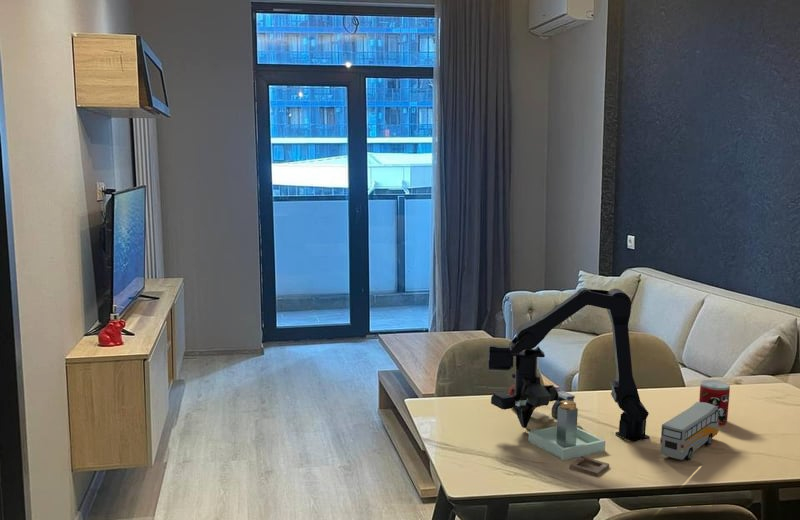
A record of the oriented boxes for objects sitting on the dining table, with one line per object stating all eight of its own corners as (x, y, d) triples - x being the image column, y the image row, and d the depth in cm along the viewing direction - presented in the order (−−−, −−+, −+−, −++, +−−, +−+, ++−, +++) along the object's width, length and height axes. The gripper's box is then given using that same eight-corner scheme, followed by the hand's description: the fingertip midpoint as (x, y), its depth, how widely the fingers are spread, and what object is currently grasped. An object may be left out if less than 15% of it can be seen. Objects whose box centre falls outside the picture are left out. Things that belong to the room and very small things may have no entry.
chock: (548, 423, 204) (549, 408, 203) (560, 429, 199) (561, 414, 199) (524, 428, 200) (524, 413, 199) (535, 434, 195) (536, 419, 195)
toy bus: (720, 439, 193) (723, 403, 191) (683, 467, 174) (685, 427, 173) (695, 432, 197) (697, 397, 196) (656, 459, 179) (658, 421, 177)
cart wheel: (567, 418, 207) (568, 389, 206) (579, 424, 202) (580, 394, 201) (547, 422, 204) (549, 393, 203) (559, 428, 199) (560, 398, 198)
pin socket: (581, 460, 177) (581, 456, 177) (609, 468, 173) (609, 463, 173) (569, 470, 172) (569, 465, 172) (597, 478, 168) (597, 473, 167)
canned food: (698, 423, 204) (700, 385, 203) (697, 414, 212) (700, 378, 210) (727, 427, 201) (730, 389, 200) (726, 418, 209) (729, 381, 207)
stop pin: (567, 440, 188) (568, 399, 187) (577, 445, 185) (579, 404, 183) (554, 442, 186) (556, 401, 185) (565, 448, 183) (567, 406, 182)
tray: (568, 434, 195) (569, 423, 194) (604, 452, 183) (605, 440, 182) (528, 442, 189) (528, 431, 188) (562, 461, 177) (563, 450, 176)
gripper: (515, 384, 183) (513, 443, 185) (573, 375, 192) (570, 431, 194) (490, 373, 193) (489, 429, 195) (546, 364, 202) (544, 418, 204)
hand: (524, 427), depth 197 cm, fingers closed
